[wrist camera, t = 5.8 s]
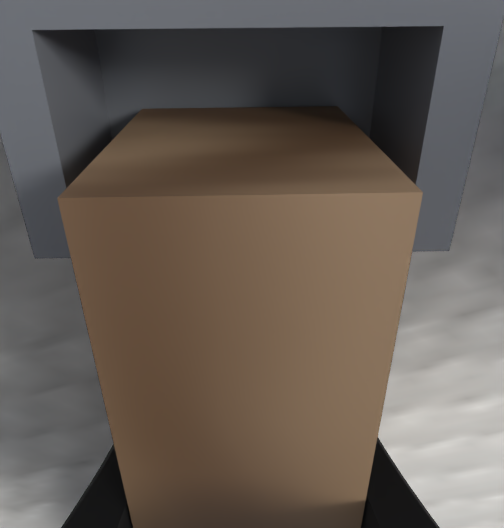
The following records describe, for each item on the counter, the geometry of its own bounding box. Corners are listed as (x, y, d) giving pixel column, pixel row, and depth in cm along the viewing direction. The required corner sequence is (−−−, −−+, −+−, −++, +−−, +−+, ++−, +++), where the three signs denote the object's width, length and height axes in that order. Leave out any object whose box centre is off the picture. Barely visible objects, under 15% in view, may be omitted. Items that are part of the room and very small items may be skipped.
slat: (337, 106, 9) (422, 192, 5) (304, 515, 16) (328, 701, 12) (142, 109, 9) (56, 197, 5) (191, 518, 16) (174, 707, 12)
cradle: (432, -40, 9) (538, -65, 6) (343, 528, 18) (365, 636, 15) (40, -37, 9) (-70, -60, 6) (153, 534, 18) (135, 644, 15)
